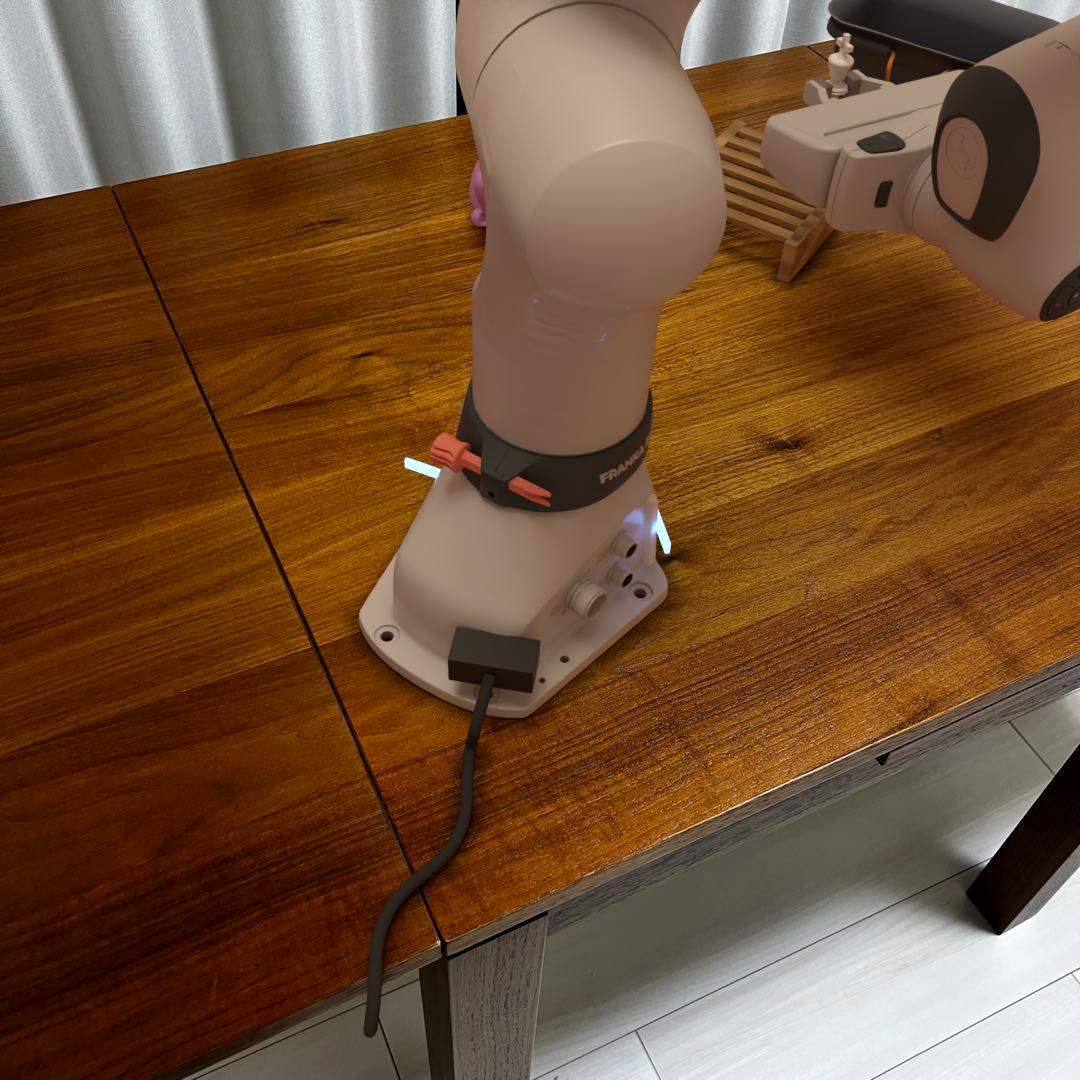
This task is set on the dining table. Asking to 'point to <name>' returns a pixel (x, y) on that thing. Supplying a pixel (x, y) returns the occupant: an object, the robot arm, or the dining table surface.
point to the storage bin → (927, 34)
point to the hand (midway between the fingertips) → (827, 83)
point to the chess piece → (840, 66)
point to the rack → (768, 201)
